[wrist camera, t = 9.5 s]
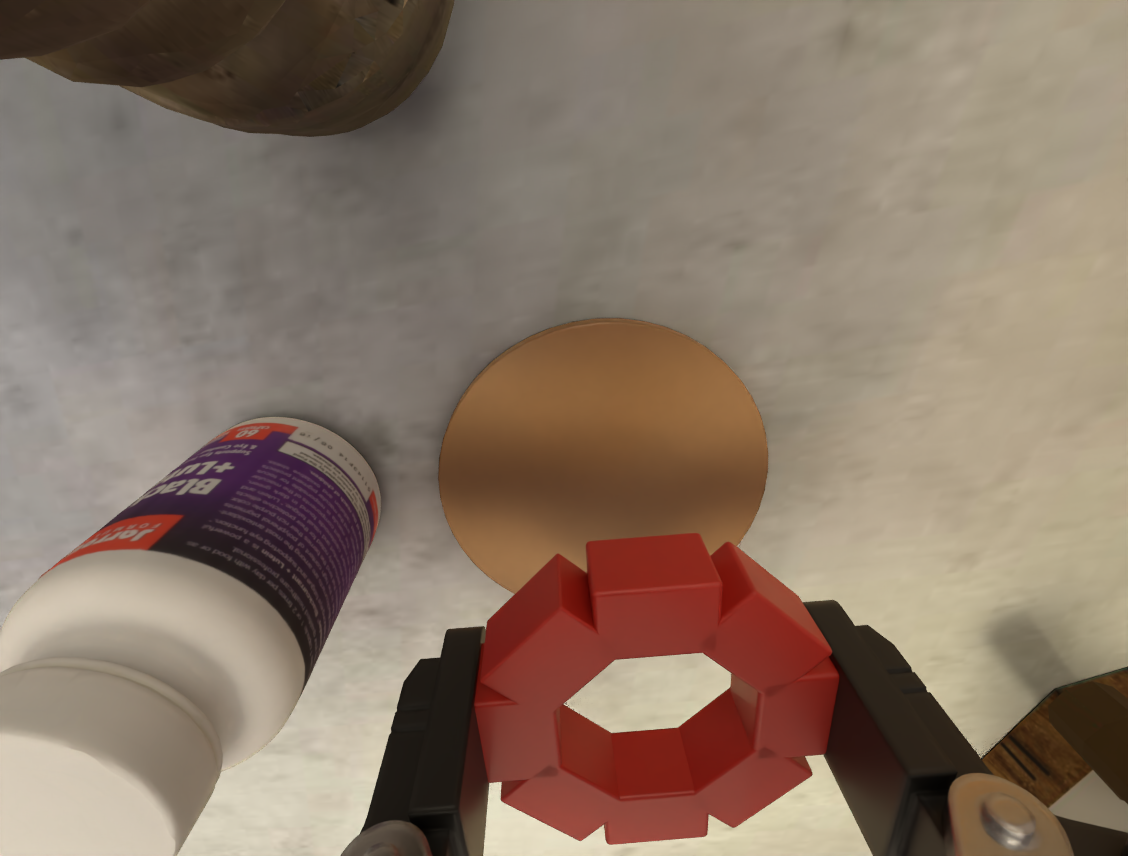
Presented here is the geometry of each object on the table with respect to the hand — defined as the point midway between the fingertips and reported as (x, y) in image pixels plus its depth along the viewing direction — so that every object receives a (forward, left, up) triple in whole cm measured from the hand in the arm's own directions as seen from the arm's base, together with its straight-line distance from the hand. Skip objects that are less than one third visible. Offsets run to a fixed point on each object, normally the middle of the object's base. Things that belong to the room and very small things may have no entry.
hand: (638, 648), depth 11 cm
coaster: (0, 0, -7) cm, 7 cm away
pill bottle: (-1, -10, -7) cm, 12 cm away
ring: (0, 0, 0) cm, 0 cm away
